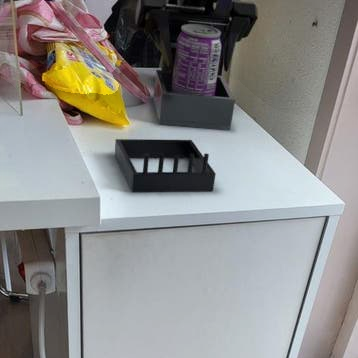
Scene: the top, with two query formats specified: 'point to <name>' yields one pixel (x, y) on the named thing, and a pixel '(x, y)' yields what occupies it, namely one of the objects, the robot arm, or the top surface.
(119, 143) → the dish rack
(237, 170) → the top surface
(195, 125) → the grey storage bin
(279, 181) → the top surface
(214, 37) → the beverage can
